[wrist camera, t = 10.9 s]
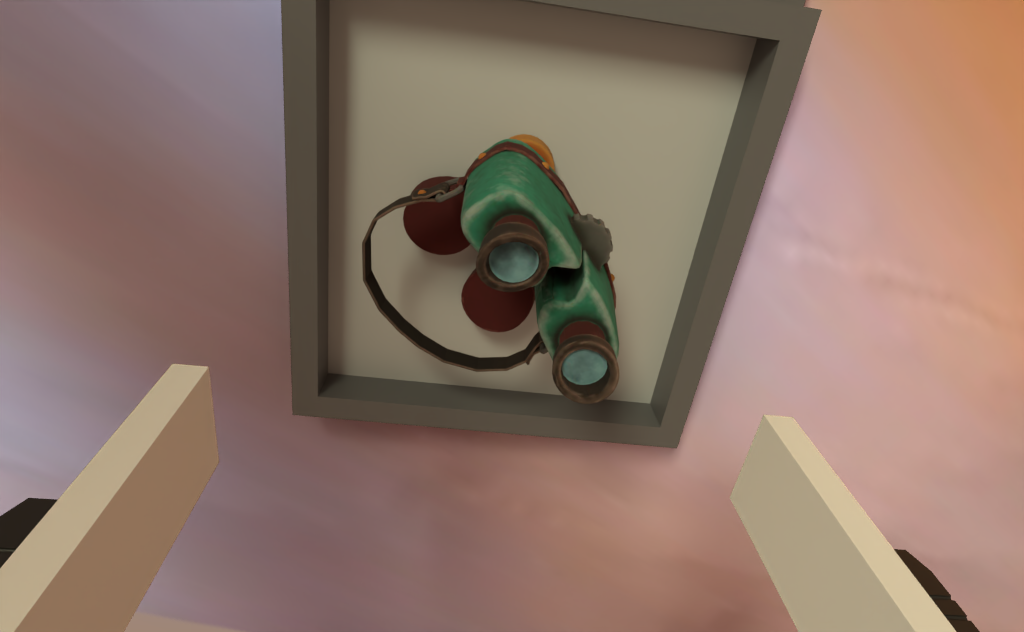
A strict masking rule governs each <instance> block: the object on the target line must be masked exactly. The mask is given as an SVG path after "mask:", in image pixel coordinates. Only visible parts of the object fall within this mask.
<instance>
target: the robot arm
mask: <svg viewBox="0 0 1024 632" xmlns="http://www.w3.org/2000/svg"><path fill="white" fill-rule="evenodd" d="M218 463H219V457H218V447H217V438H216V429H215V419H214V410H213V401H212V392H211V382H210V373H209V367H205V366H194V365H182V364H172V365H171V366H170V367H169V369H168V370H167V371H166V372H165V373H164V375H163V376H162V377H161V378H160V379H159V380H158V382H157V383H156V384H155V385H154V386H153V388H152V389H151V390H150V391H149V392H148V394H147V395H146V396H145V397H144V398H143V399H142V401H141V402H140V403H139V404H138V405H137V407H136V408H135V409H134V410H133V411H132V413H131V414H130V415H129V416H128V417H127V418H126V420H125V421H124V422H123V423H122V424H121V426H120V427H119V428H118V429H117V430H116V432H115V433H114V434H113V435H112V436H111V437H110V439H109V440H108V441H107V442H106V443H105V445H104V446H103V447H102V448H101V449H100V451H99V452H98V453H97V454H96V455H95V456H94V458H93V459H92V460H91V461H90V462H89V464H88V465H87V466H86V467H85V468H84V470H83V471H82V472H81V473H80V474H79V475H78V477H77V478H76V479H75V480H74V481H73V483H72V484H71V485H70V486H69V487H68V489H67V490H66V491H65V492H64V493H63V494H62V496H61V497H60V498H59V499H58V500H54V499H38V498H28V499H26V500H25V501H23V502H22V503H20V504H19V505H17V506H15V507H14V508H12V509H11V510H9V511H8V512H6V513H5V514H3V515H2V516H0V632H124V631H125V629H126V627H127V625H128V624H129V622H130V620H131V618H132V616H133V615H134V613H135V611H136V609H137V608H138V606H139V604H140V602H141V600H142V599H143V597H144V595H145V593H146V591H147V590H148V588H149V586H150V584H151V583H152V581H153V579H154V577H155V575H156V574H157V572H158V570H159V568H160V567H161V565H162V563H163V561H164V559H165V558H166V556H167V554H168V552H169V550H170V549H171V547H172V545H173V543H174V542H175V540H176V538H177V536H178V534H179V533H180V531H181V529H182V527H183V525H184V524H185V522H186V520H187V518H188V517H189V515H190V513H191V511H192V509H193V508H194V506H195V504H196V502H197V501H198V499H199V497H200V495H201V493H202V492H203V490H204V488H205V486H206V484H207V483H208V481H209V479H210V477H211V476H212V474H213V472H214V470H215V468H216V467H217V465H218ZM730 499H731V501H732V503H733V505H734V507H735V509H736V511H737V513H738V515H739V517H740V519H741V521H742V523H743V524H744V526H745V528H746V530H747V532H748V534H749V536H750V538H751V540H752V542H753V544H754V546H755V548H756V550H757V552H758V554H759V556H760V558H761V560H762V562H763V564H764V565H765V567H766V569H767V571H768V573H769V575H770V577H771V579H772V581H773V583H774V585H775V587H776V589H777V591H778V593H779V595H780V597H781V599H782V601H783V603H784V605H785V606H786V608H787V610H788V612H789V614H790V616H791V618H792V620H793V622H794V624H795V626H796V628H797V630H798V632H979V630H978V629H977V628H976V627H975V625H974V624H973V623H972V622H971V621H968V620H967V618H966V617H967V615H966V614H965V613H964V612H963V610H962V609H961V608H960V607H959V605H958V604H957V603H956V602H955V601H953V600H951V595H950V594H949V593H948V592H947V590H946V589H945V588H944V587H943V585H942V584H941V583H940V582H939V580H938V579H937V578H936V577H935V575H934V574H933V573H932V572H931V571H930V570H929V569H928V568H927V567H925V566H924V565H923V564H922V563H921V562H919V561H918V560H917V559H916V558H915V557H913V556H912V555H911V554H910V553H909V552H907V551H906V550H898V549H893V548H892V547H891V545H890V544H889V543H888V541H887V540H886V539H885V537H884V536H883V535H882V533H881V532H880V531H879V530H878V528H877V527H876V526H875V524H874V523H873V522H872V520H871V519H870V518H869V516H868V515H867V514H866V513H865V511H864V510H863V509H862V507H861V506H860V505H859V503H858V502H857V501H856V499H855V498H854V497H853V495H852V494H851V493H850V492H849V490H848V489H847V488H846V486H845V485H844V484H843V482H842V481H841V480H840V478H839V477H838V476H837V475H836V473H835V472H834V471H833V469H832V468H831V467H830V465H829V464H828V463H827V461H826V460H825V459H824V458H823V456H822V455H821V454H820V452H819V451H818V450H817V448H816V447H815V446H814V444H813V443H812V442H811V441H810V439H809V438H808V437H807V435H806V434H805V433H804V431H803V430H802V429H801V427H800V426H799V425H798V423H797V422H796V421H795V420H794V418H793V417H784V416H772V415H763V418H762V420H761V423H760V425H759V428H758V430H757V432H756V435H755V437H754V440H753V442H752V445H751V447H750V449H749V452H748V454H747V457H746V459H745V462H744V464H743V466H742V469H741V471H740V474H739V476H738V479H737V481H736V483H735V486H734V488H733V491H732V493H731V496H730Z"/></svg>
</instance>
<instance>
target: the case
mask: <svg viewBox="0 0 1024 632" xmlns="http://www.w3.org/2000/svg"><path fill="white" fill-rule="evenodd" d="M804 3H805V0H281V13H282V49H283V85H284V121H285V158H286V194H287V230H288V266H289V302H290V338H291V375H292V411H293V415H301V416H313V417H324V418H336V419H347V420H359V421H370V422H381V423H393V424H404V425H416V426H427V427H439V428H450V429H462V430H473V431H485V432H496V433H508V434H519V435H531V436H542V437H554V438H565V439H577V440H588V441H600V442H611V443H623V444H634V445H646V446H657V447H669V448H677V446H678V443H679V440H680V437H681V434H682V431H683V428H684V425H685V422H686V419H687V416H688V413H689V410H690V407H691V404H692V401H693V398H694V395H695V392H696V389H697V386H698V383H699V380H700V377H701V374H702V371H703V368H704V365H705V362H706V359H707V356H708V353H709V350H710V347H711V343H712V340H713V337H714V334H715V331H716V328H717V325H718V322H719V319H720V316H721V313H722V310H723V307H724V304H725V301H726V298H727V295H728V292H729V289H730V286H731V283H732V280H733V277H734V274H735V271H736V268H737V265H738V262H739V259H740V256H741V253H742V250H743V247H744V244H745V241H746V238H747V235H748V232H749V229H750V225H751V222H752V219H753V216H754V213H755V210H756V207H757V204H758V201H759V198H760V195H761V192H762V189H763V186H764V183H765V180H766V177H767V174H768V171H769V168H770V165H771V162H772V159H773V156H774V153H775V150H776V147H777V144H778V141H779V138H780V135H781V132H782V129H783V126H784V123H785V120H786V117H787V114H788V111H789V107H790V104H791V101H792V98H793V95H794V92H795V89H796V86H797V83H798V80H799V77H800V74H801V71H802V68H803V65H804V62H805V59H806V56H807V53H808V50H809V47H810V44H811V41H812V38H813V35H814V32H815V29H816V26H817V23H818V20H819V17H820V14H821V11H822V10H819V9H813V8H807V7H803V6H804ZM521 134H527V135H532V136H535V137H538V138H539V139H541V140H542V141H543V142H544V143H545V144H546V145H547V146H548V147H549V149H550V151H551V153H552V156H553V160H554V168H555V173H556V174H557V175H558V176H559V178H560V179H561V180H562V181H563V183H564V185H565V186H566V188H567V190H568V192H569V194H570V196H571V197H572V199H573V201H574V203H575V205H576V206H577V208H578V210H579V212H580V214H581V215H586V214H591V215H593V217H594V218H596V219H601V220H602V221H604V225H605V227H606V228H609V230H610V233H611V237H612V239H611V240H612V244H613V252H610V255H609V256H610V259H609V261H608V267H609V270H610V274H613V275H614V277H615V279H614V281H613V284H614V288H615V293H616V308H615V315H616V323H617V330H618V338H619V354H618V357H617V362H618V366H619V372H620V374H619V381H618V384H617V387H616V388H615V390H614V392H613V393H612V394H611V395H610V396H609V397H608V398H606V399H604V400H603V401H600V402H597V403H594V404H581V403H577V402H574V401H571V400H570V399H568V398H566V397H565V396H564V395H563V394H562V393H560V391H559V390H558V388H557V387H556V385H555V383H554V381H553V376H552V364H553V361H552V358H551V356H550V354H549V352H547V353H546V354H542V353H538V354H535V355H534V356H533V358H532V360H531V361H530V364H529V365H527V364H526V363H524V364H522V365H520V366H517V367H515V368H513V369H510V370H508V371H488V372H475V371H472V370H468V369H465V368H461V367H457V366H454V365H450V364H446V363H443V362H441V361H440V360H438V359H436V358H434V357H433V356H431V355H429V354H428V353H426V352H424V351H423V350H421V349H419V348H418V347H416V346H415V345H414V344H413V343H411V342H410V341H409V340H408V339H407V338H405V337H404V336H403V335H402V334H401V333H399V332H398V331H397V330H396V329H395V328H394V326H393V325H392V324H391V323H390V322H389V321H388V320H387V319H386V318H385V317H384V316H383V315H382V314H381V313H380V312H379V310H378V309H377V307H376V305H375V303H374V301H373V299H372V297H371V295H370V293H369V291H368V289H367V288H366V286H365V284H364V282H363V267H362V242H363V240H364V237H365V235H366V233H367V231H368V229H369V226H370V224H371V222H372V220H373V219H374V217H375V216H376V214H377V213H378V212H379V211H380V210H382V209H383V208H385V207H387V206H388V205H390V204H391V203H393V202H395V201H396V200H398V199H399V198H402V197H406V196H410V195H411V193H412V191H413V190H414V188H415V187H416V186H417V185H418V184H420V183H421V182H422V181H424V180H427V179H429V178H433V177H438V176H452V177H463V176H465V174H466V172H467V170H468V168H469V167H470V166H471V165H472V163H473V162H474V160H475V159H476V158H477V157H478V156H479V155H480V154H481V153H483V152H484V151H485V150H487V149H488V148H490V147H491V146H493V145H494V144H495V143H497V142H499V141H501V140H504V139H509V138H510V137H513V136H515V135H521ZM467 179H468V178H467ZM405 207H406V206H405ZM405 207H401V208H398V209H395V210H393V211H392V212H390V213H388V214H387V215H385V216H383V217H382V218H380V219H379V220H377V223H376V225H375V227H374V229H373V231H372V234H371V269H372V272H373V274H374V276H375V278H376V280H377V282H378V284H379V286H380V288H381V290H382V292H383V294H384V296H385V297H386V299H387V300H388V301H389V302H390V303H391V304H392V306H393V307H394V308H395V309H396V310H397V311H398V312H399V313H400V314H401V315H402V316H403V318H404V319H405V320H407V321H408V322H409V323H410V324H411V325H413V326H414V327H415V328H416V329H417V330H419V331H420V332H421V333H422V334H423V335H425V336H427V337H428V338H430V339H432V340H433V341H435V342H437V343H439V344H440V345H442V346H444V347H445V348H447V349H450V350H454V351H457V352H461V353H464V354H468V355H472V356H475V357H479V358H481V357H508V356H510V355H512V354H515V353H517V352H519V351H521V350H524V349H526V347H527V346H528V344H529V343H530V341H531V340H532V339H533V337H534V336H535V334H537V333H538V332H539V328H538V324H537V315H536V302H535V301H534V304H533V307H532V309H531V311H530V313H529V315H528V316H527V317H526V319H525V320H524V321H523V322H522V323H521V324H520V325H519V326H518V327H516V328H514V329H513V330H510V331H506V332H490V331H487V330H484V329H482V328H480V327H478V326H477V325H476V324H474V323H473V322H472V321H471V320H470V319H469V318H468V316H467V315H466V313H465V311H464V309H463V306H462V302H461V293H462V289H463V286H464V284H465V282H466V280H467V279H468V277H469V276H470V274H471V273H472V272H473V271H474V269H475V268H476V260H477V256H478V252H477V251H476V250H475V248H474V247H473V246H472V245H471V244H470V245H469V246H468V247H467V248H465V249H464V250H462V251H461V252H458V253H455V254H451V255H437V254H432V253H429V252H427V251H425V250H423V249H421V248H420V247H418V246H417V245H416V244H415V243H414V242H413V241H412V240H411V239H410V238H409V236H408V235H407V233H406V230H405V228H404V224H403V214H404V209H405Z"/></svg>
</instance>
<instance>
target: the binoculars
mask: <svg viewBox="0 0 1024 632" xmlns="http://www.w3.org/2000/svg"><path fill="white" fill-rule="evenodd" d="M467 178H468V179H467ZM405 206H406V207H405ZM401 207H405V209H404V214H403V224H404V228H405V230H406V233H407V235H408V236H409V238H410V239H411V240H412V241H413V242H414V243H415V244H416V245H417V246H418V247H420V248H421V249H423V250H425V251H427V252H429V253H432V254H437V255H451V254H455V253H458V252H461V251H462V250H464V249H465V248H467V247H468V246H469V245H470V244H471V245H472V246H473V247H474V248H475V250H476V251H477V252H478V256H477V260H476V268H475V269H474V271H473V272H472V273H471V274H470V276H469V277H468V279H467V280H466V282H465V284H464V286H463V289H462V293H461V302H462V306H463V309H464V311H465V313H466V315H467V316H468V318H469V319H470V320H471V321H472V322H473V323H474V324H476V325H477V326H478V327H480V328H482V329H484V330H487V331H490V332H506V331H510V330H513V329H514V328H516V327H518V326H519V325H520V324H521V323H522V322H523V321H524V320H525V319H526V317H527V316H528V315H529V313H530V311H531V309H532V307H533V304H534V301H535V302H536V315H537V324H538V328H539V332H538V333H537V334H535V336H534V337H533V339H532V340H531V341H530V343H529V344H528V346H527V347H526V349H524V350H521V351H519V352H517V353H515V354H512V355H510V356H508V357H481V358H479V357H475V356H472V355H468V354H464V353H461V352H457V351H454V350H450V349H447V348H445V347H444V346H442V345H440V344H439V343H437V342H435V341H433V340H432V339H430V338H428V337H427V336H425V335H423V334H422V333H421V332H420V331H419V330H417V329H416V328H415V327H414V326H413V325H411V324H410V323H409V322H408V321H407V320H405V319H404V318H403V316H402V315H401V314H400V313H399V312H398V311H397V310H396V309H395V308H394V307H393V306H392V304H391V303H390V302H389V301H388V300H387V299H386V297H385V296H384V294H383V292H382V290H381V288H380V286H379V284H378V282H377V280H376V278H375V276H374V274H373V272H372V269H371V234H372V231H373V229H374V227H375V225H376V223H377V220H379V219H380V218H382V217H383V216H385V215H387V214H388V213H390V212H392V211H393V210H395V209H398V208H401ZM611 239H612V237H611V233H610V230H609V228H606V227H605V225H604V221H602V220H601V219H596V218H594V217H593V215H591V214H586V215H581V214H580V212H579V210H578V208H577V206H576V205H575V203H574V201H573V199H572V197H571V196H570V194H569V192H568V190H567V188H566V186H565V185H564V183H563V181H562V180H561V179H560V178H559V176H558V175H557V174H556V173H555V168H554V160H553V156H552V153H551V151H550V149H549V147H548V146H547V145H546V144H545V143H544V142H543V141H542V140H541V139H539V138H538V137H535V136H532V135H527V134H521V135H515V136H513V137H510V138H509V139H504V140H501V141H499V142H497V143H495V144H494V145H493V146H491V147H490V148H488V149H487V150H485V151H484V152H483V153H481V154H480V155H479V156H478V157H477V158H476V159H475V160H474V162H473V163H472V165H471V166H470V167H469V168H468V170H467V172H466V174H465V176H463V177H452V176H438V177H433V178H429V179H427V180H424V181H422V182H421V183H420V184H418V185H417V186H416V187H415V188H414V190H413V191H412V193H411V195H410V196H406V197H402V198H399V199H398V200H396V201H395V202H393V203H391V204H390V205H388V206H387V207H385V208H383V209H382V210H380V211H379V212H378V213H377V214H376V216H375V217H374V219H373V220H372V222H371V224H370V226H369V229H368V231H367V233H366V235H365V237H364V240H363V242H362V267H363V282H364V284H365V286H366V288H367V289H368V291H369V293H370V295H371V297H372V299H373V301H374V303H375V305H376V307H377V309H378V310H379V312H380V313H381V314H382V315H383V316H384V317H385V318H386V319H387V320H388V321H389V322H390V323H391V324H392V325H393V326H394V328H395V329H396V330H397V331H398V332H399V333H401V334H402V335H403V336H404V337H405V338H407V339H408V340H409V341H410V342H411V343H413V344H414V345H415V346H416V347H418V348H419V349H421V350H423V351H424V352H426V353H428V354H429V355H431V356H433V357H434V358H436V359H438V360H440V361H441V362H443V363H446V364H450V365H454V366H457V367H461V368H465V369H468V370H472V371H475V372H488V371H508V370H510V369H513V368H515V367H517V366H520V365H522V364H524V363H526V364H527V365H529V364H530V361H531V360H532V358H533V356H534V355H535V354H538V353H542V354H546V353H547V352H549V354H550V356H551V358H552V361H553V364H552V376H553V381H554V383H555V385H556V387H557V388H558V390H559V391H560V393H562V394H563V395H564V396H565V397H566V398H568V399H570V400H571V401H574V402H577V403H581V404H594V403H597V402H600V401H603V400H604V399H606V398H608V397H609V396H610V395H611V394H612V393H613V392H614V390H615V388H616V387H617V384H618V381H619V374H620V372H619V366H618V362H617V357H618V354H619V338H618V330H617V323H616V315H615V308H616V293H615V288H614V284H613V281H614V279H615V277H614V275H613V274H610V270H609V267H608V261H609V259H610V256H609V255H610V252H613V244H612V240H611Z"/></svg>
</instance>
